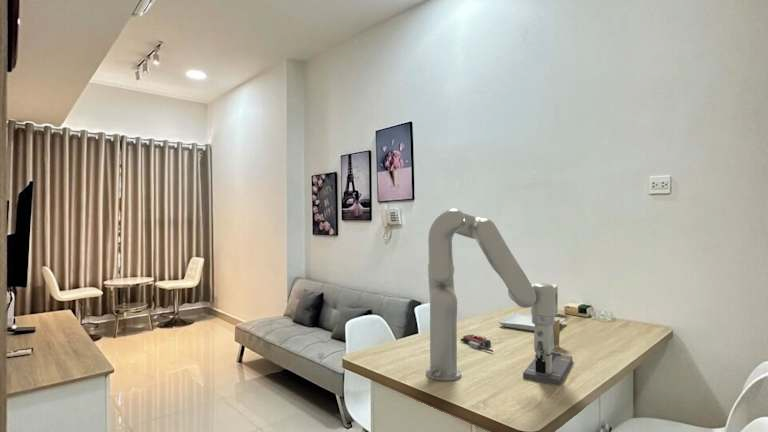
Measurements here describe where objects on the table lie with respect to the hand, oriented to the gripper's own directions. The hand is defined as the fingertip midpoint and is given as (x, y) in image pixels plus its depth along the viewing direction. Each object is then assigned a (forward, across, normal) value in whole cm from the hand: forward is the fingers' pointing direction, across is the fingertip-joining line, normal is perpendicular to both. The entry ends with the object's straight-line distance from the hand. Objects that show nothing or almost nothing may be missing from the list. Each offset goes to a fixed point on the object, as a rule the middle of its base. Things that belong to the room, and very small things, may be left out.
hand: (543, 368), depth 143 cm
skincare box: (+4, +40, +5) cm, 40 cm away
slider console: (+4, +10, 0) cm, 11 cm away
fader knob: (+1, 0, 0) cm, 1 cm away
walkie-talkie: (+4, +23, +31) cm, 39 cm away
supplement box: (+4, +102, +20) cm, 104 cm away
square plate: (+4, +72, +20) cm, 75 cm away
